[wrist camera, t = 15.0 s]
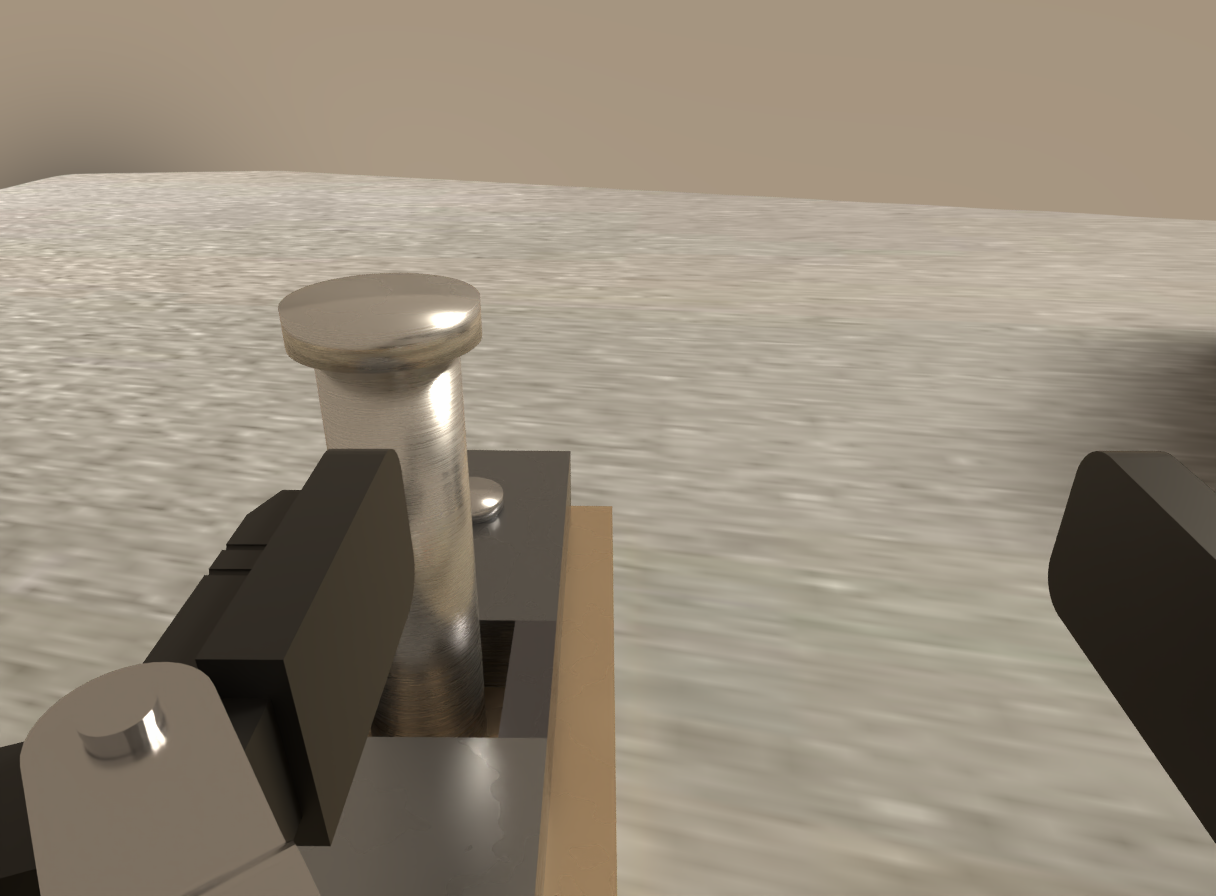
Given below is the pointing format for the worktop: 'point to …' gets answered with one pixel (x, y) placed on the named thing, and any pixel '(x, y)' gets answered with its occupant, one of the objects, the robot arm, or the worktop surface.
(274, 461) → the worktop surface
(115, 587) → the worktop surface
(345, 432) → the steel pin
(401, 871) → the pin socket base plate
